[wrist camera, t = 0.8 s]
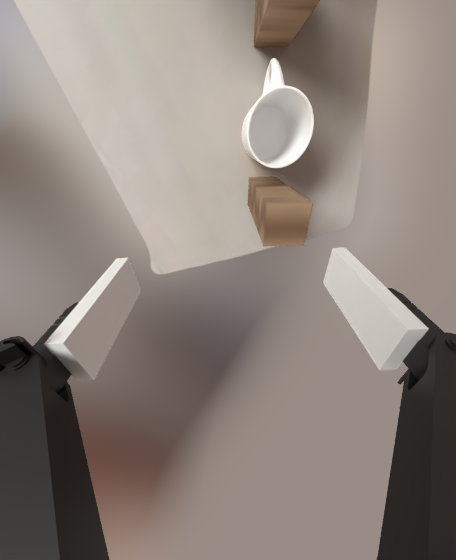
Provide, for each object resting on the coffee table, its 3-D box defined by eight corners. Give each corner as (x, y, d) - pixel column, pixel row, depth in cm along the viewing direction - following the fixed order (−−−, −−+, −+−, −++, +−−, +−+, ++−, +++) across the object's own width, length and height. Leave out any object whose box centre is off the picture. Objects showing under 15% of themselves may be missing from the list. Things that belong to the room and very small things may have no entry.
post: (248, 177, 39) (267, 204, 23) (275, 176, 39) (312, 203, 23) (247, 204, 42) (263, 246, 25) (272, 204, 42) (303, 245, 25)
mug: (294, 66, 31) (323, 36, 22) (289, 158, 37) (310, 164, 29) (237, 75, 31) (242, 49, 22) (242, 164, 38) (248, 172, 29)
